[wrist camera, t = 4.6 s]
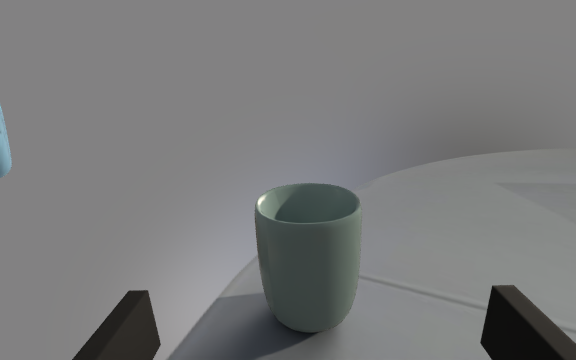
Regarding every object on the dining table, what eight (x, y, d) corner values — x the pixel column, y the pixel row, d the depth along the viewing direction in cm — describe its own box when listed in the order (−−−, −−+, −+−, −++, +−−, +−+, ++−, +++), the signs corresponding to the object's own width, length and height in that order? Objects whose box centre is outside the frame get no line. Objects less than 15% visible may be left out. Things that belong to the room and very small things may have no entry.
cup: (259, 353, 21) (246, 227, 18) (266, 282, 28) (258, 184, 25) (368, 349, 21) (376, 222, 17) (347, 278, 28) (349, 180, 25)
